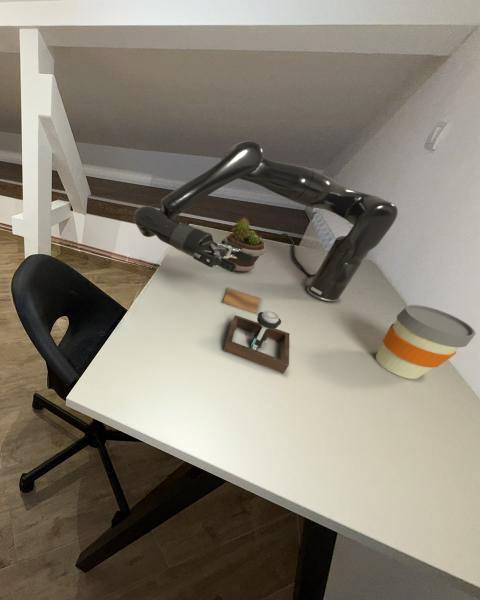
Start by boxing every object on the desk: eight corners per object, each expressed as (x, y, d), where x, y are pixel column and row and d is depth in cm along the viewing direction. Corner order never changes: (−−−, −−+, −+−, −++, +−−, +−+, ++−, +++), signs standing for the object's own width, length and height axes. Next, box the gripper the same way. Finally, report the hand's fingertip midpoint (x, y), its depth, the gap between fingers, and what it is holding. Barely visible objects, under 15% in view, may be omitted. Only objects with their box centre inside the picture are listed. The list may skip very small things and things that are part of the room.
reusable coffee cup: (428, 366, 81) (474, 321, 72) (430, 393, 73) (481, 346, 64) (369, 342, 87) (404, 298, 79) (364, 364, 80) (403, 318, 71)
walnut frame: (231, 323, 90) (234, 314, 89) (284, 341, 85) (289, 333, 83) (223, 350, 80) (227, 341, 78) (283, 373, 75) (289, 365, 73)
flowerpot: (250, 261, 126) (271, 213, 115) (259, 279, 114) (283, 227, 103) (213, 255, 128) (230, 208, 117) (218, 272, 116) (237, 221, 105)
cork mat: (227, 289, 106) (227, 288, 106) (258, 298, 103) (259, 297, 102) (222, 302, 99) (223, 301, 99) (256, 313, 95) (256, 312, 95)
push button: (262, 357, 79) (279, 326, 73) (240, 347, 82) (255, 317, 76) (268, 344, 83) (285, 314, 78) (248, 335, 86) (262, 306, 80)
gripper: (178, 232, 82) (234, 257, 72) (208, 224, 90) (263, 245, 80) (171, 258, 87) (223, 284, 76) (201, 247, 94) (252, 270, 84)
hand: (244, 264), depth 78 cm, fingers open, 8 cm apart
